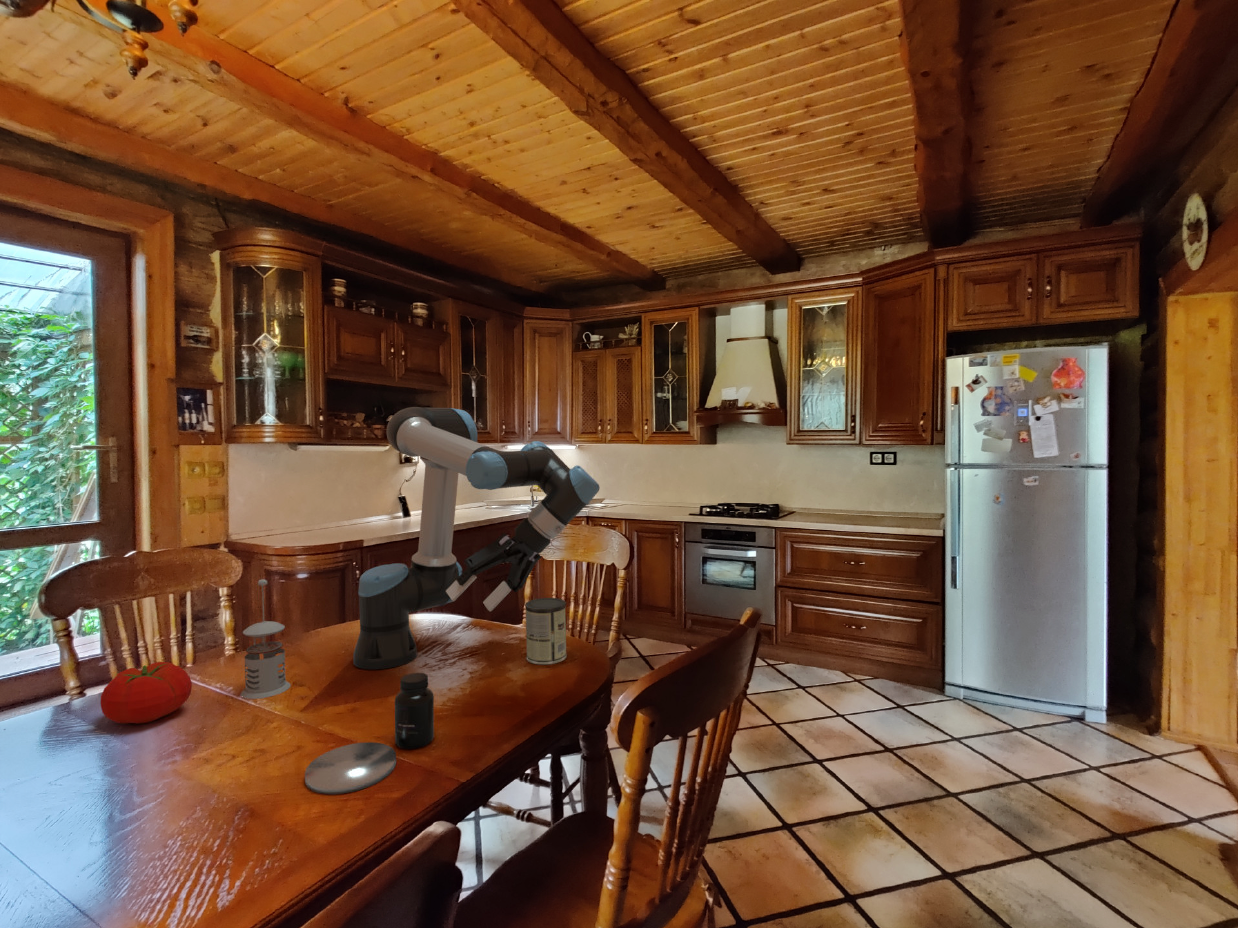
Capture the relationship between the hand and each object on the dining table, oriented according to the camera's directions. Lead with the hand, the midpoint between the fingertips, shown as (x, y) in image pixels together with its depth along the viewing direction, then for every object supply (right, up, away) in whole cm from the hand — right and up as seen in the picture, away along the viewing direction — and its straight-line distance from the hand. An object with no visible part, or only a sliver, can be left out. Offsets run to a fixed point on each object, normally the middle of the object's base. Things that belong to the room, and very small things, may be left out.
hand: (469, 601), depth 126 cm
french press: (-49, -22, +10) cm, 54 cm away
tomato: (-65, -23, -4) cm, 69 cm away
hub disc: (-14, -23, -25) cm, 36 cm away
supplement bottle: (-6, -23, -15) cm, 28 cm away
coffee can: (+13, -21, +27) cm, 37 cm away
